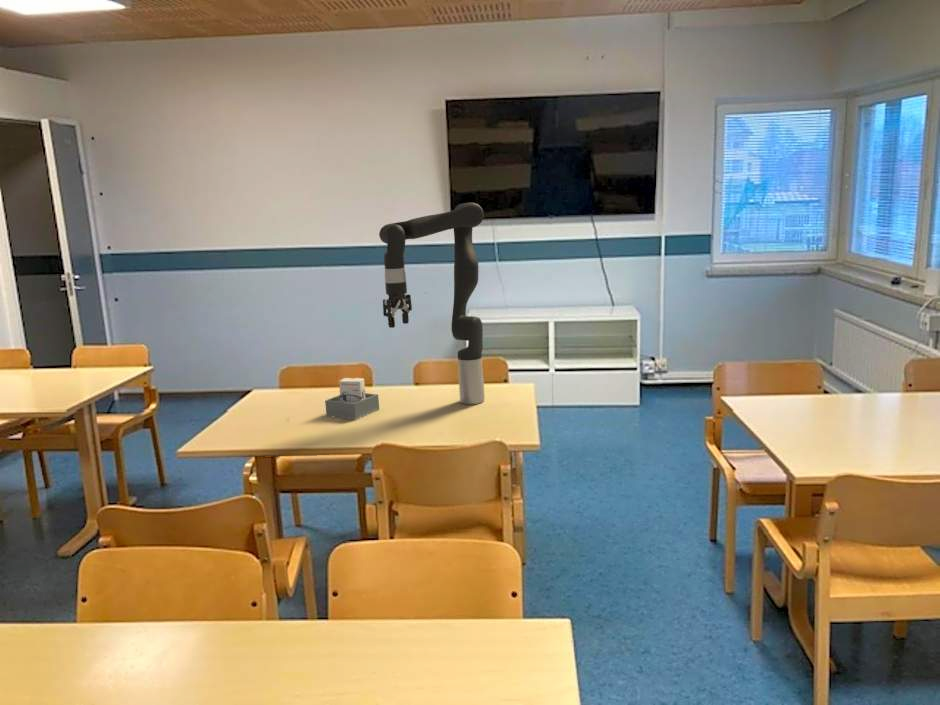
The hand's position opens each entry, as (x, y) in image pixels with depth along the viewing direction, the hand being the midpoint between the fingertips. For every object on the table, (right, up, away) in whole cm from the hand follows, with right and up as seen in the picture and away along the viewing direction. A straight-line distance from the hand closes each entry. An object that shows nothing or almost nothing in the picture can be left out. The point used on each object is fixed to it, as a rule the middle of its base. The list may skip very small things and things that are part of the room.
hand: (398, 325), depth 265 cm
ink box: (-18, -32, +11) cm, 38 cm away
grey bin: (-18, -33, +10) cm, 39 cm away
